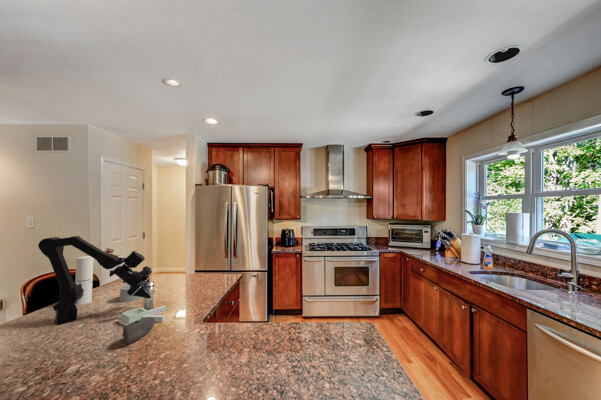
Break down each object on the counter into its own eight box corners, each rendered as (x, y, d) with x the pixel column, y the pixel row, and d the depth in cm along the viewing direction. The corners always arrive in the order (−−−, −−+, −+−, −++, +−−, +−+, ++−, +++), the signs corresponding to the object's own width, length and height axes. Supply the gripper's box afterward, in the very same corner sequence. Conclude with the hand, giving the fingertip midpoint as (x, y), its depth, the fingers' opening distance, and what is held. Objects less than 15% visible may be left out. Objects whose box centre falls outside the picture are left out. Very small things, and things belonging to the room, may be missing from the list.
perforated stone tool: (149, 327, 104) (150, 311, 104) (159, 328, 103) (160, 312, 103) (116, 346, 89) (117, 327, 90) (127, 348, 88) (128, 328, 89)
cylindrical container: (70, 304, 131) (73, 257, 132) (86, 299, 138) (88, 255, 139) (80, 305, 129) (82, 258, 130) (94, 301, 136) (96, 256, 137)
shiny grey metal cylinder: (146, 312, 120) (147, 284, 120) (142, 310, 122) (143, 282, 123) (155, 309, 123) (155, 282, 124) (151, 308, 125) (151, 280, 126)
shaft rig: (135, 332, 100) (135, 322, 100) (117, 321, 110) (118, 313, 110) (179, 315, 116) (179, 307, 116) (160, 307, 125) (161, 300, 126)
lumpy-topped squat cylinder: (149, 295, 144) (149, 281, 145) (127, 303, 132) (128, 287, 133) (136, 293, 148) (137, 279, 148) (114, 301, 135) (115, 285, 136)
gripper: (136, 266, 114) (162, 287, 117) (145, 259, 131) (167, 277, 134) (115, 285, 110) (142, 306, 114) (127, 275, 128) (151, 294, 131)
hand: (152, 294), depth 123 cm, fingers open, 9 cm apart
